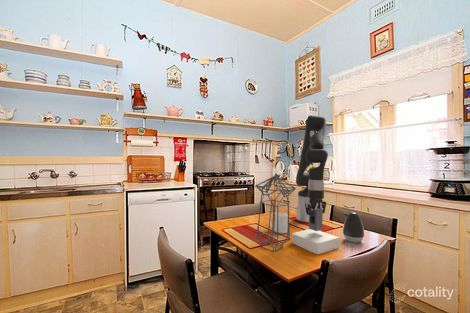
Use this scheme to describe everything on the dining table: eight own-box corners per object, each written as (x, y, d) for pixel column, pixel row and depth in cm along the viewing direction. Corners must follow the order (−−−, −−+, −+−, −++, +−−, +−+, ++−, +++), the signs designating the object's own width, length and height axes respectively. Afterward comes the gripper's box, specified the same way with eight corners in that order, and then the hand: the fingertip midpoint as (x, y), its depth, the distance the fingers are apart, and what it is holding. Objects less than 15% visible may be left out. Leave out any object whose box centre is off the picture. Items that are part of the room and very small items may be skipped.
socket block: (291, 243, 118) (291, 233, 118) (312, 237, 127) (312, 228, 127) (317, 254, 105) (317, 243, 105) (339, 247, 113) (339, 237, 113)
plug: (309, 228, 116) (309, 208, 116) (314, 227, 119) (315, 207, 119) (316, 231, 112) (316, 210, 112) (322, 229, 115) (322, 209, 115)
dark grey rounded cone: (345, 236, 130) (345, 209, 130) (365, 240, 123) (366, 212, 123) (339, 241, 122) (340, 212, 122) (361, 246, 115) (362, 215, 115)
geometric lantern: (269, 239, 123) (272, 174, 123) (295, 248, 112) (298, 177, 111) (249, 246, 112) (252, 174, 112) (275, 257, 101) (279, 178, 101)
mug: (266, 231, 136) (266, 214, 136) (269, 227, 143) (270, 211, 143) (286, 234, 131) (287, 216, 131) (289, 230, 139) (289, 213, 139)
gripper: (319, 187, 123) (318, 219, 122) (300, 188, 115) (299, 222, 115) (331, 188, 116) (331, 222, 116) (312, 190, 109) (312, 226, 109)
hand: (315, 222), depth 116 cm, fingers closed on plug, 4 cm apart
